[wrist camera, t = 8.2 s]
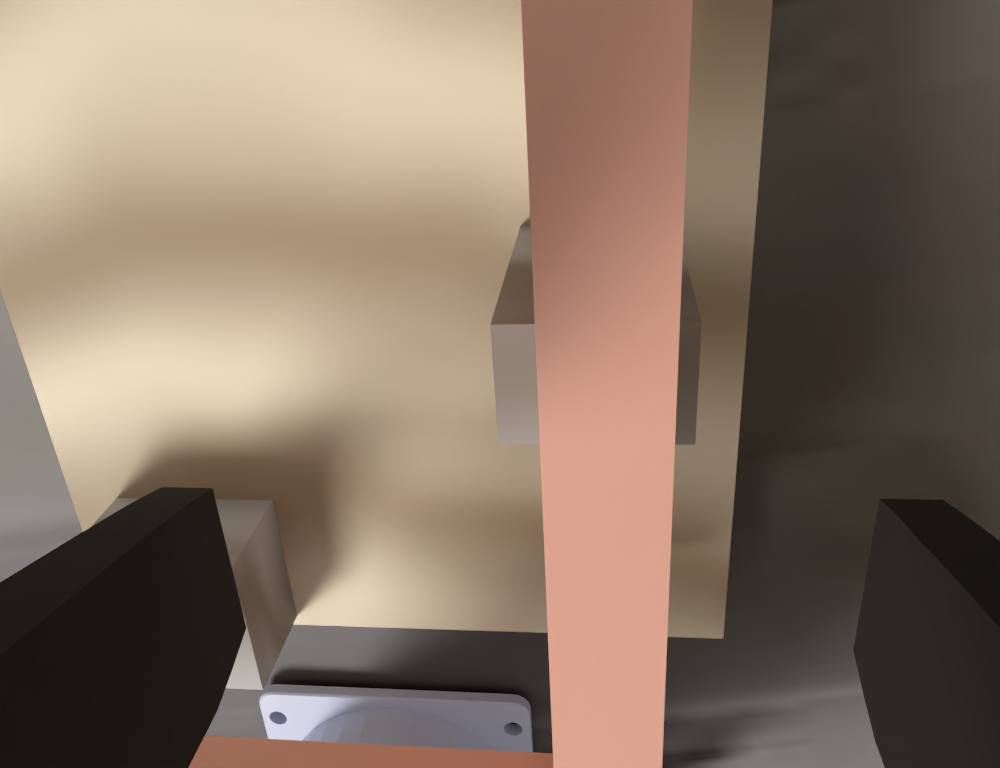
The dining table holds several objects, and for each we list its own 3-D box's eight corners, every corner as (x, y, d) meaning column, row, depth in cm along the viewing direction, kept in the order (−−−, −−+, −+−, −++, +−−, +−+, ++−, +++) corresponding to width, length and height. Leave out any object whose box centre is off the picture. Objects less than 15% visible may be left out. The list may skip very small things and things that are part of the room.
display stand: (716, 597, 22) (754, 823, 17) (139, 581, 24) (-6, 778, 18) (781, -322, 14) (908, -517, 8) (-115, -232, 16) (-531, -336, 10)
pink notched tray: (644, 664, 18) (657, 892, 14) (143, 645, 20) (9, 847, 15) (666, -251, 11) (707, -383, 7) (-123, -178, 13) (-520, -248, 8)
